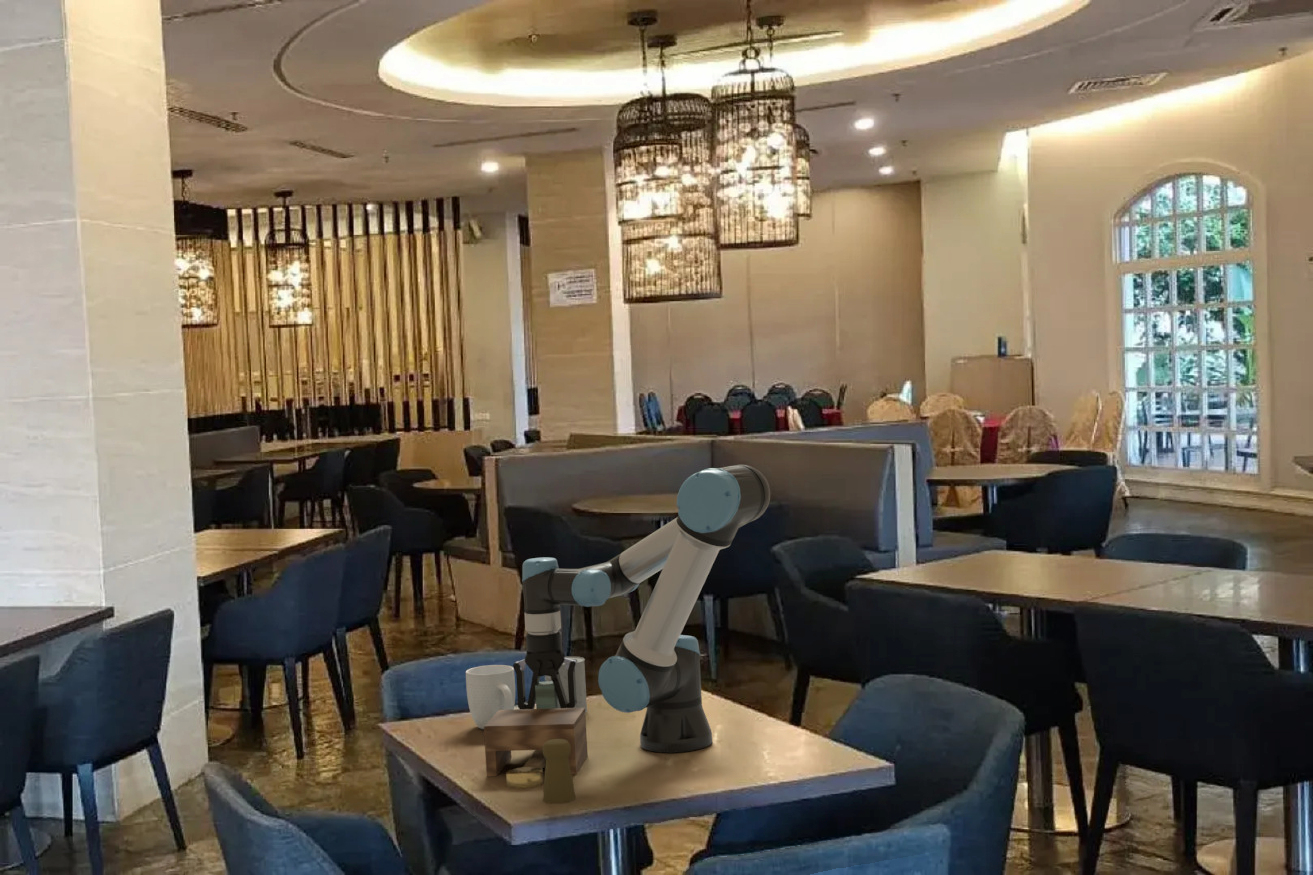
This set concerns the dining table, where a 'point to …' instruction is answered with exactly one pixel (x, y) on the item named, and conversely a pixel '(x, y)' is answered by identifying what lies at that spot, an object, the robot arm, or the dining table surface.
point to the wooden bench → (534, 734)
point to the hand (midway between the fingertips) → (549, 741)
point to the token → (524, 777)
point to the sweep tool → (544, 700)
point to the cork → (557, 772)
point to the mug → (489, 691)
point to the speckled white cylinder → (579, 682)
